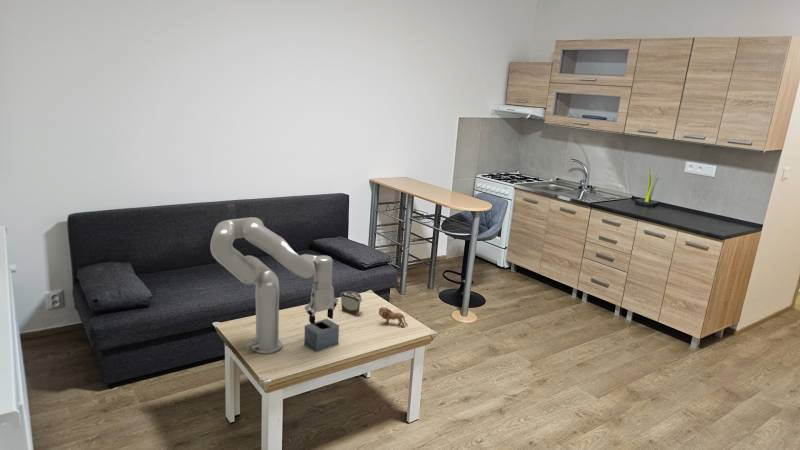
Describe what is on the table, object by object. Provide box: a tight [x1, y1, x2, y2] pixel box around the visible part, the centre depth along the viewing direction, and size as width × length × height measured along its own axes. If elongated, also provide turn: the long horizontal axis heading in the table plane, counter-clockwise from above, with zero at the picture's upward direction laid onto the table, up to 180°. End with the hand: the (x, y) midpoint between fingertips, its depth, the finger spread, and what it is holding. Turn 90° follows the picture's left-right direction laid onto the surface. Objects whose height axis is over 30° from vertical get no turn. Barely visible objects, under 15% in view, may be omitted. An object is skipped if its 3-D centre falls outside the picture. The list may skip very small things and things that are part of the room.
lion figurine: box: [378, 306, 409, 328], centre depth 257 cm, size 15×5×9 cm, turn 88°
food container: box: [339, 291, 363, 318], centre depth 268 cm, size 12×6×10 cm, turn 58°
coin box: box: [303, 318, 340, 353], centre depth 233 cm, size 12×9×9 cm
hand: (321, 320), depth 231 cm, fingers open, 9 cm apart
